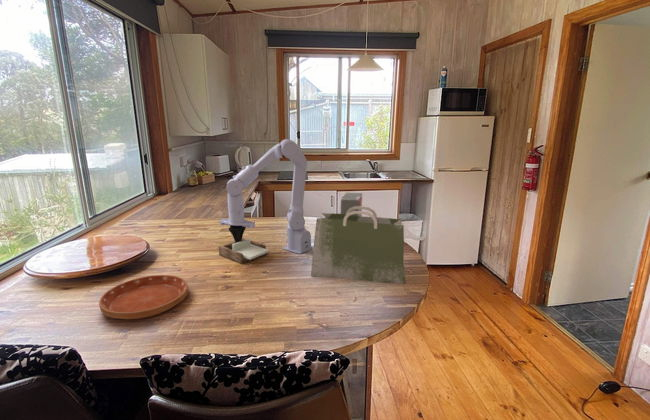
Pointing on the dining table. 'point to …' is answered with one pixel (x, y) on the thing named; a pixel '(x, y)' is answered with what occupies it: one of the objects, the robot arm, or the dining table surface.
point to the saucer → (143, 297)
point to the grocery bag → (359, 247)
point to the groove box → (236, 256)
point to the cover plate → (248, 249)
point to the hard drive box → (351, 202)
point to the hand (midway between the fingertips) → (238, 243)
